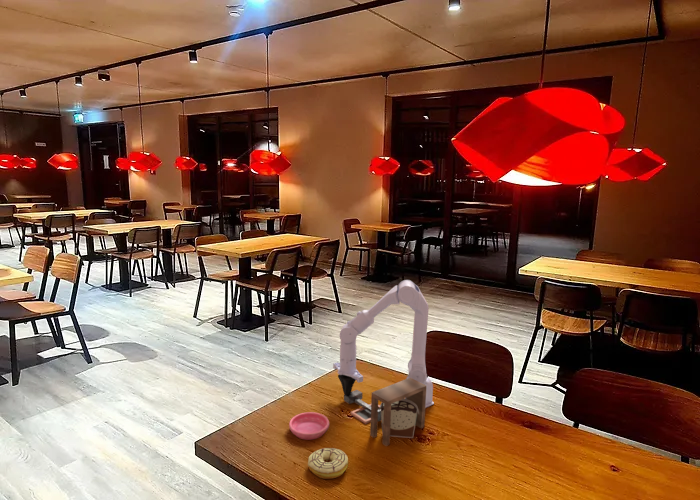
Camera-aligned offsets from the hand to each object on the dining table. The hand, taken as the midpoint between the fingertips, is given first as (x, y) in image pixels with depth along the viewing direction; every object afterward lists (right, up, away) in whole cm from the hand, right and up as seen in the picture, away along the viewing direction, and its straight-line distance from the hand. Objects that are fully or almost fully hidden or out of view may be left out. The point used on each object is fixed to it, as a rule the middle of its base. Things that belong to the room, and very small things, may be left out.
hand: (347, 393), depth 158 cm
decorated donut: (-5, -9, -37) cm, 39 cm away
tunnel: (+16, -6, -19) cm, 25 cm away
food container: (+16, -6, -19) cm, 25 cm away
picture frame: (+8, -4, -9) cm, 12 cm away
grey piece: (+6, -2, -8) cm, 10 cm away
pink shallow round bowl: (-12, -6, -20) cm, 24 cm away
